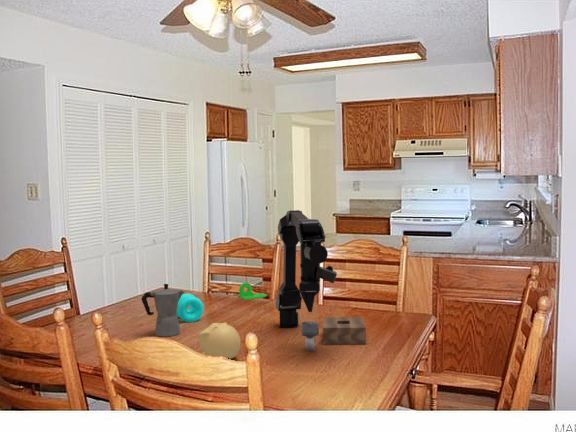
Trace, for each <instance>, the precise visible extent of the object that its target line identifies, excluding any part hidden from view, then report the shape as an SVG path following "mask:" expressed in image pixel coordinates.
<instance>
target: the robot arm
mask: <svg viewBox="0 0 576 432" xmlns="http://www.w3.org/2000/svg"><path fill="white" fill-rule="evenodd" d="M277 225H278V226H277V233H278V236H279V238H280V240H281V241H282V244H283V270H282V271H283V272H282V273H283V277H282V278H283V281H282V284H281V285H280V286H279V288H278V293H277V295H276V299H275V309H276V310H277V311H278V312H279V325H278V327H279V328H297V327H298V325H299V319H300V318H299V312H298V310H301V309H302V300H303V303H304V305H305V307H306V309H307V312H308V313H312V312H313V309H314V302H315V297H316V296H317V295H318V294H319V293H320V290H321V288H320V287H321V285H320V282H321V280H323V281H327V282H328V283H330V284H334V283H335V281H336V279H337V275H338V272H336V271H335V270H334V269H333V266H331V265H327V266H326V267H322V266H321V265H320V264H323V263H325V261H326V260H327V258H328V254H329V253H328V250H327V247H325V246H324V245H322V243H325V242H326V240H325V239H326V234H325V231H324V227H323V225H322V224H321V222H320V221H319V220H318V219H314V218H312V219H311V218H309V217H307V216H306V215H305V214H304V213H303V211H302V210H299V209H298V210H296V209H295V210H288V211H286V214H285V215H283V216H282V217H281V218H280V219H279V220H278V224H277ZM298 244H300V246H299V248H300V249H299V250H300V253H299V254H300V265H299V266H300V282H299V283H298V286H297V284H296V282H297V281H296V279H297V278H296V277H297V275H296V274H297V272H296V271H297V270H296V269H297V268H296V267H297V245H298Z"/></svg>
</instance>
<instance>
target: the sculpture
mask: <svg viewBox="0 0 576 432" xmlns="http://www.w3.org/2000/svg"><path fill="white" fill-rule="evenodd" d="M198 339H199V341H198V344H199V348H201V349H202V352H203V353H204V355H205V354H206V355H211V356H223V357H226V358H229V359H228V360H231V359H233V358H235V357H236V356H237V355H238V353H239V351H240V348H241V337H240V334H239V332H238V330H237V329H235V328H234V327H233V326H231V325H229V324H228V323H227V322H219V323H217V322H213V323H211V324H210V325H209V326H208V327H207V328H205V329H203V330H202V331H200V332H199V334H198ZM206 355H205V356H206Z"/></svg>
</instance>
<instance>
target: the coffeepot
mask: <svg viewBox="0 0 576 432" xmlns="http://www.w3.org/2000/svg"><path fill="white" fill-rule="evenodd" d="M163 287H164V288H163V289H158V290H156V291H146V292H145V293H144V294H143V295H142V297H141V303H142V304H143V307H144V309H145V312H146V314H147V315H148V316H153V315H154V313H155V311H156V312H157V317H156V321H155V322H156V323H155V328H154V329H155V331H154V335H156V336H157V337H161V336H162V337H166V338H167V337H174V336H177V335H179V334H180V333H181V327H180V326H181V325H180V321H179V317H178V316H177V312H176V310H177V308H178V302H179V300H180V298H181V296H182V295H183V294H185V291H184V290H181V289H171V288H169V283H164V284H163ZM148 298H153V299H154V306H155V311H154V312H153V311H151V309H150V306H149V303H148V300H147V299H148Z"/></svg>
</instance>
